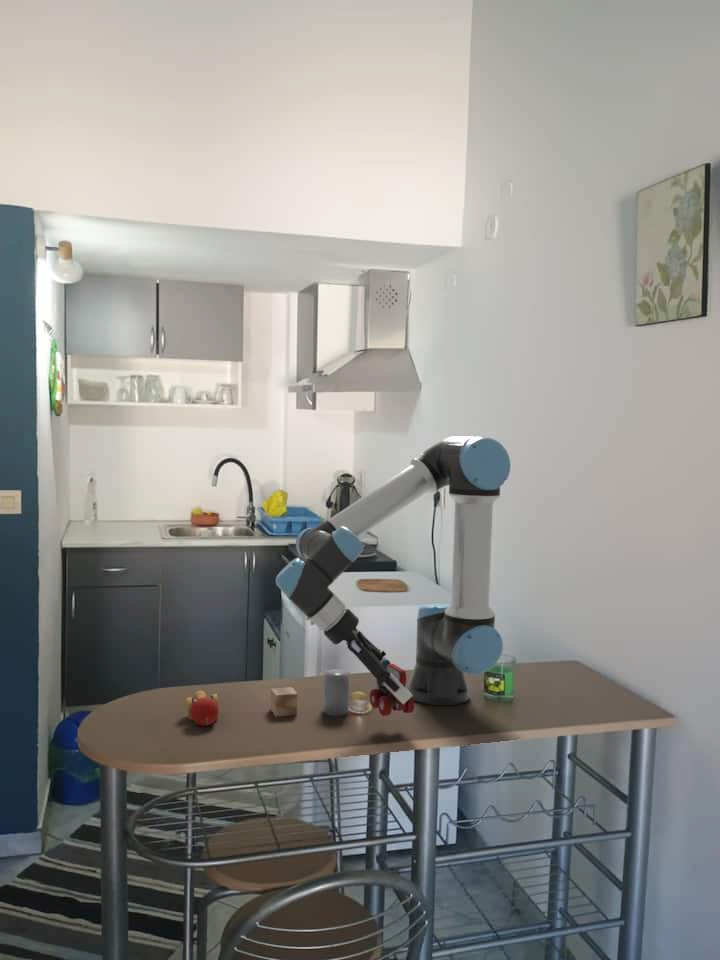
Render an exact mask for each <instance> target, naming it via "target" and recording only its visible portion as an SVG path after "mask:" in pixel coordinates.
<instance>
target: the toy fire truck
mask: <svg viewBox="0 0 720 960" xmlns="http://www.w3.org/2000/svg"><path fill="white" fill-rule="evenodd" d="M381 664H382V665H383V666H384V667H385V668H386V670H387V671H388V672H390V673H391V674H392V675H393V676H394V677H395V678H396V679H397V680H398V681H399V682H400V683H401V684H402V685H403V686H404V687H405V688H406V683H407V673H406V671H405V670H404V669H403V668H401V667H399V666H397V665H396V664H395V663H392V662H391V661H390V660H389V659H387V660H383V661H382V663H381ZM382 674H383V673H382ZM382 674H381V675H382ZM381 675H380V676H381ZM377 683H378V680H377V679H376V688H375V689H373V688H372V689H371V690H370V692H369V702H370V705H371V707H372V708H374V709H378V710H379V714H380V715H382V716H383V717H386V716H387V717H388V716H390V715H391V713H392V710H393V711H398V712H399V711H402V712H404V713H405V714H410V713H412V712H414V709H415V700H413V697H411V698H410V699H409V700H408V701H406V702H405V703H404V704H402V703H401V702H400V701H399V700H398V699H397V698H396V697H395V696H394V695H393V694H392V693H391V692H390V691H389V690H388V689H387V688H386V687H385V686H384V685H383V684H381V685H380V686H379V685H378V684H377Z"/></svg>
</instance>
